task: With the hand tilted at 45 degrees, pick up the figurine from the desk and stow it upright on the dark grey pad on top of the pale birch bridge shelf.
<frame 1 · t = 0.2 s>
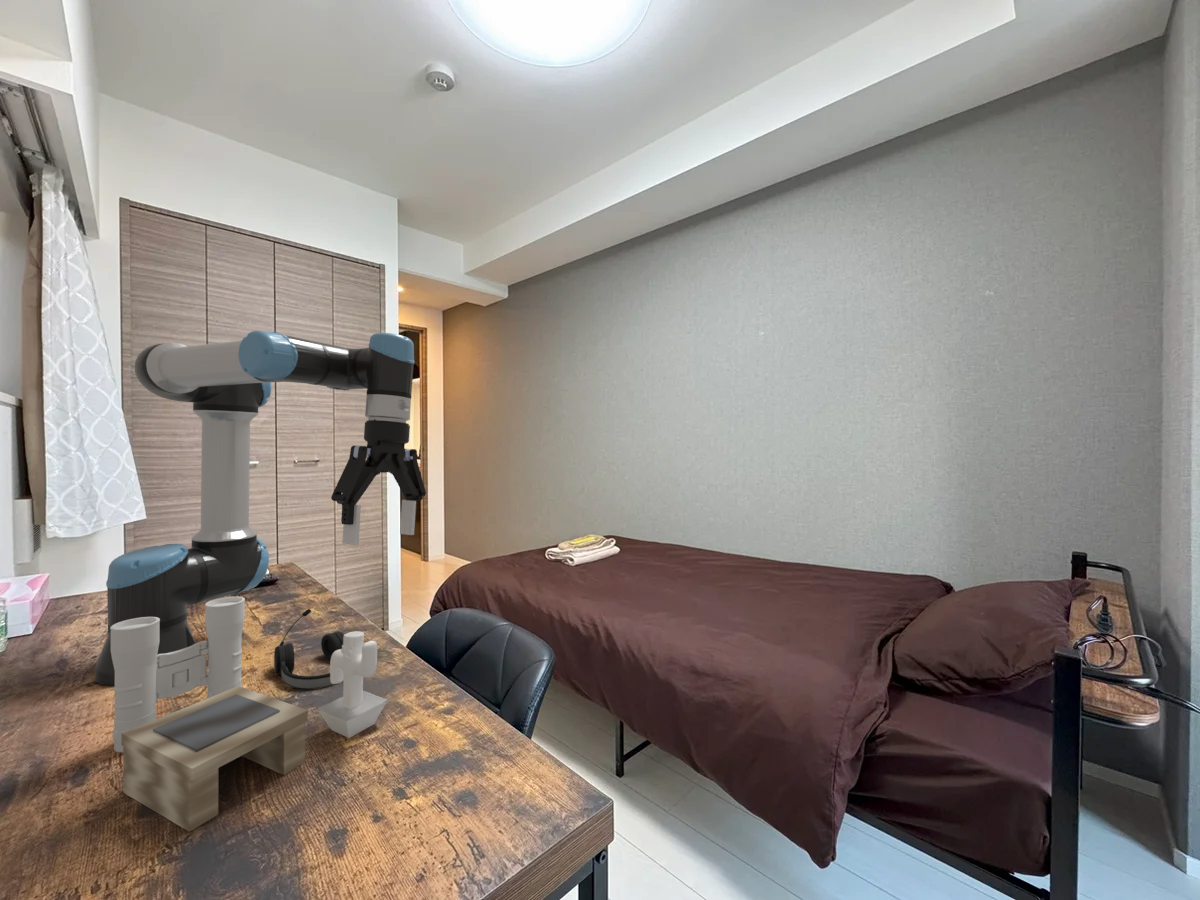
hand: (380, 539, 90), 28 cm above the table, tool pointing down, fingers open, 13 cm apart
figurine: (352, 728, 79), on the table
binoculars: (183, 724, 80), on the table
headset: (316, 671, 99), on the table
bridge shelf: (218, 776, 67), on the table
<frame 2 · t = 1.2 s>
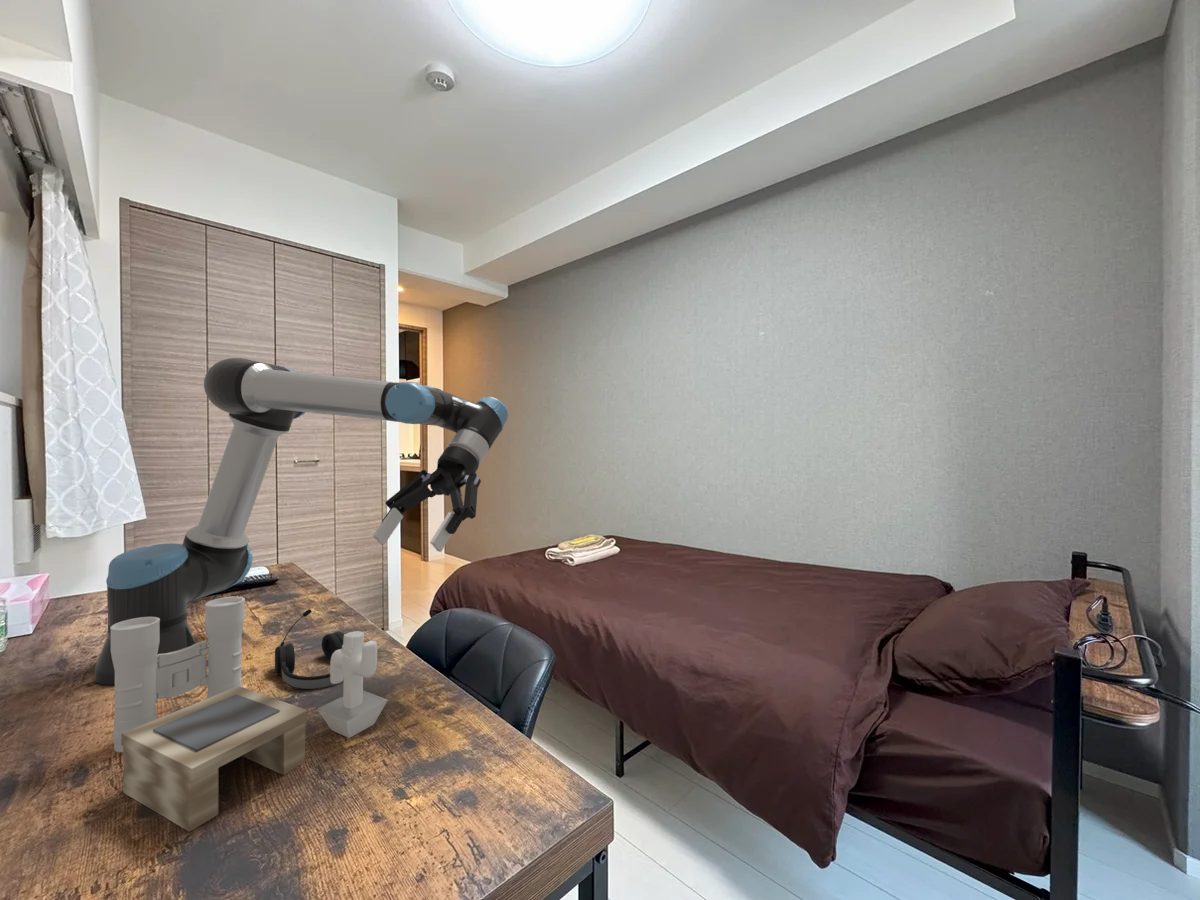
hand: (405, 543, 88), 27 cm above the table, tool tilted 45°, fingers open, 13 cm apart
nothing on the table moved.
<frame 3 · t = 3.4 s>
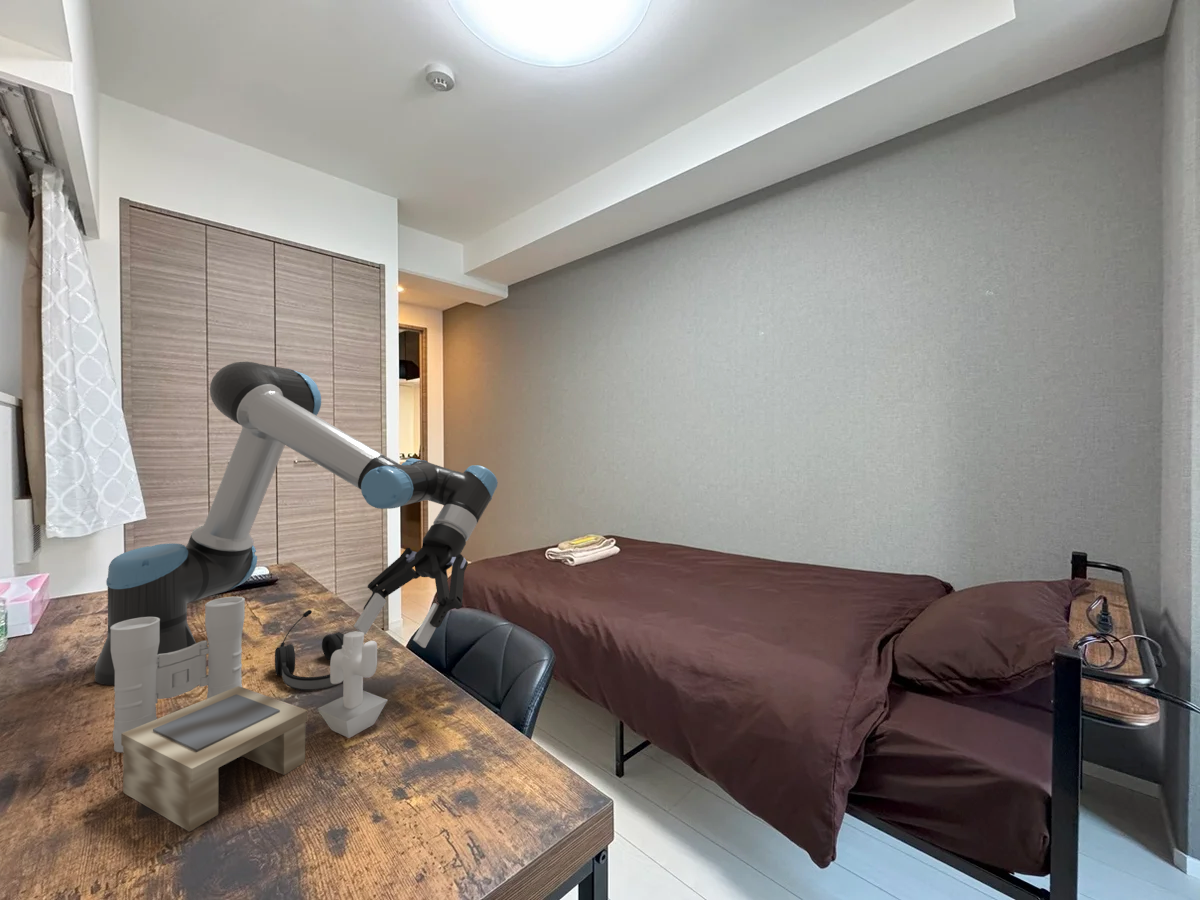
hand: (388, 637, 84), 12 cm above the table, tool tilted 45°, fingers open, 13 cm apart
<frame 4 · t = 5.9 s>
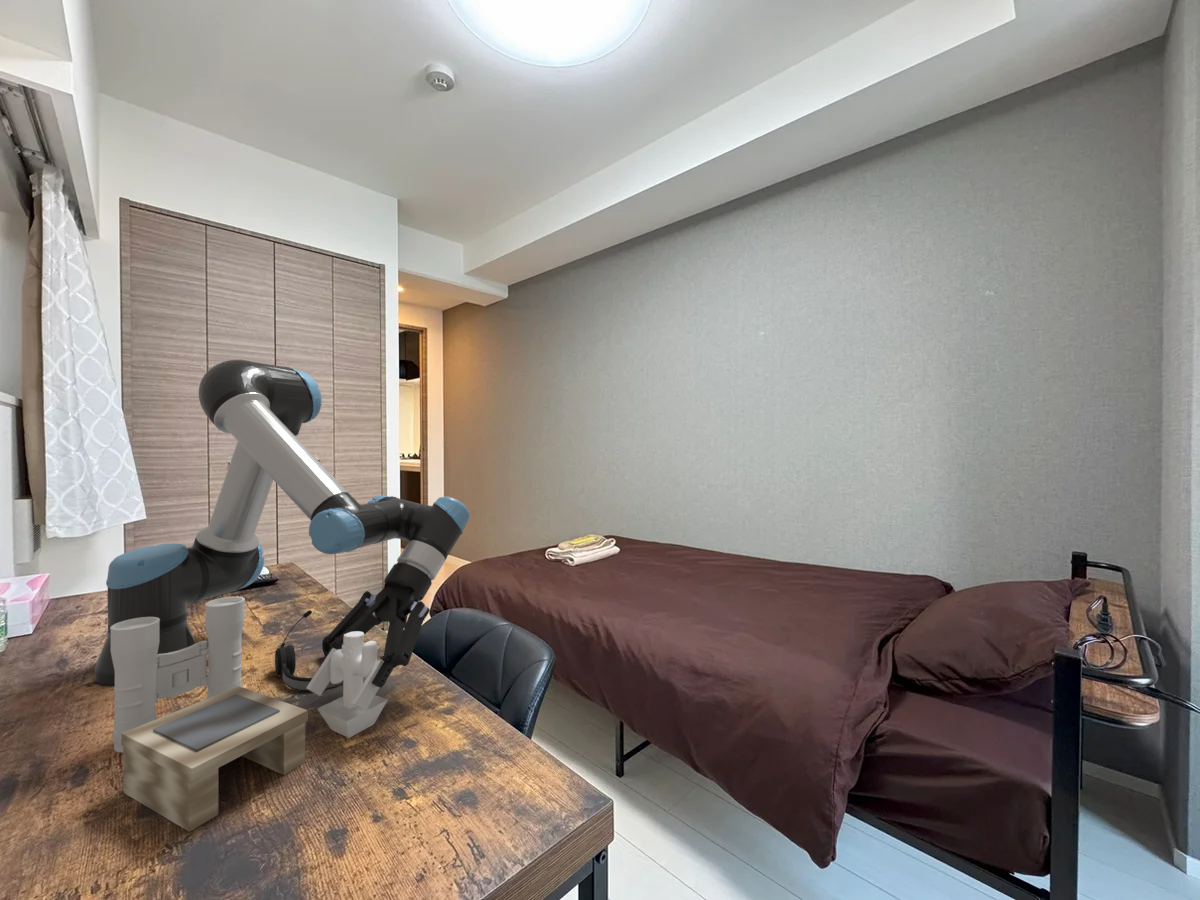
hand: (335, 699, 76), 6 cm above the table, tool tilted 45°, fingers closed on figurine, 9 cm apart
figurine: (352, 728, 79), on the table, touching gripper
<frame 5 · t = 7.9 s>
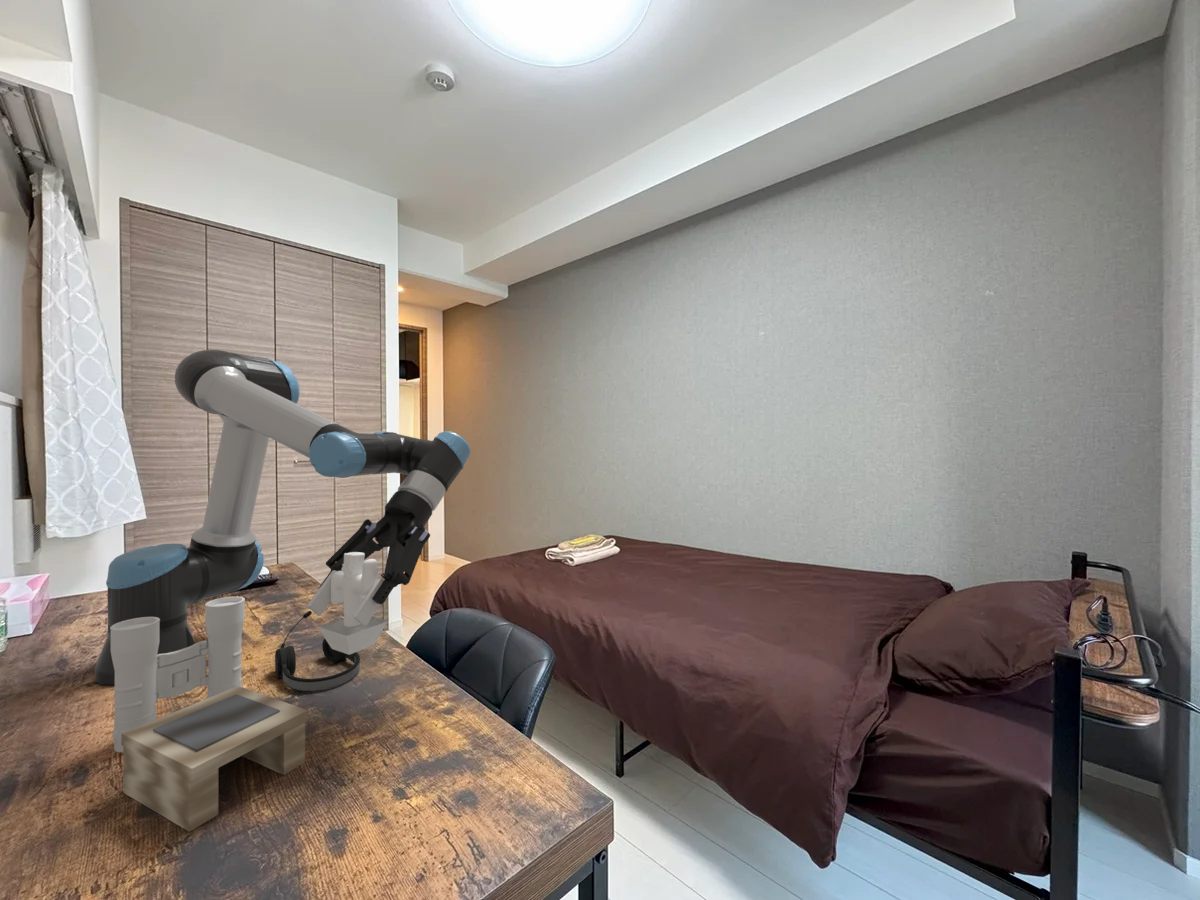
hand: (335, 616, 76), 19 cm above the table, tool tilted 45°, fingers closed on figurine, 9 cm apart
figurine: (353, 648, 79), point 13 cm above the table, touching gripper
when the fingers open (15 cm above the table, at t = 10.3 s): figurine drops 2 cm, resting on bridge shelf.
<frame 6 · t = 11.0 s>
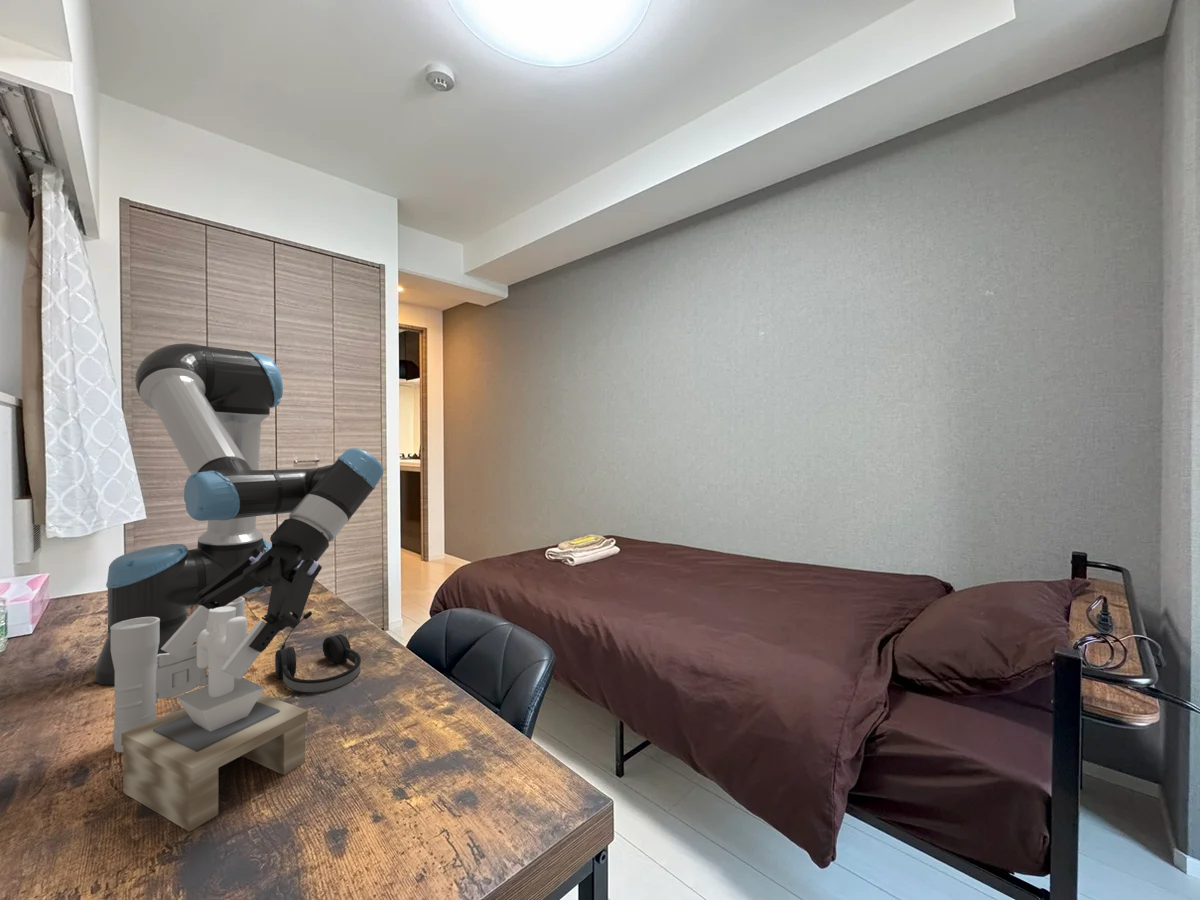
hand: (198, 664, 65), 16 cm above the table, tool tilted 45°, fingers open, 13 cm apart
figurine: (221, 720, 67), point 8 cm above the table, touching bridge shelf
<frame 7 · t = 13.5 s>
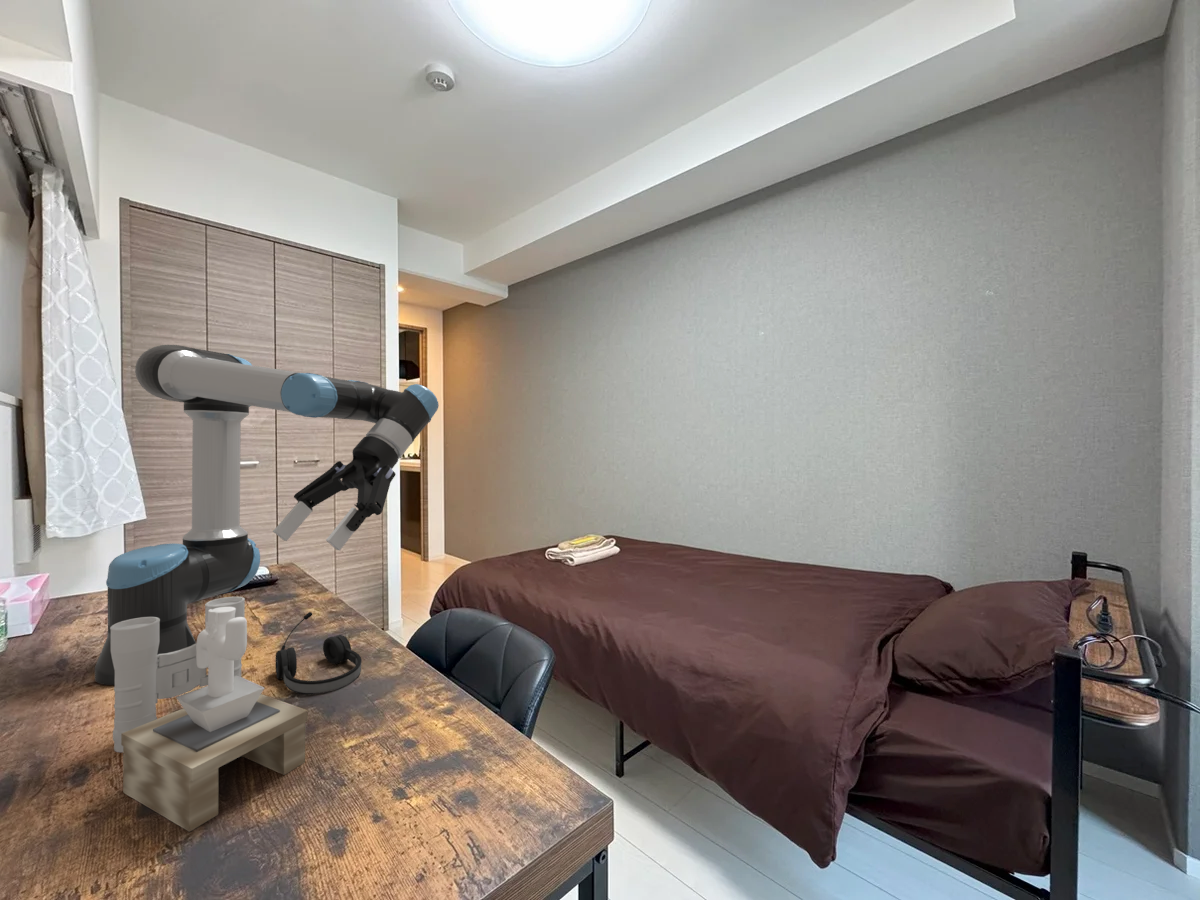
hand: (305, 540, 82), 29 cm above the table, tool tilted 45°, fingers open, 13 cm apart
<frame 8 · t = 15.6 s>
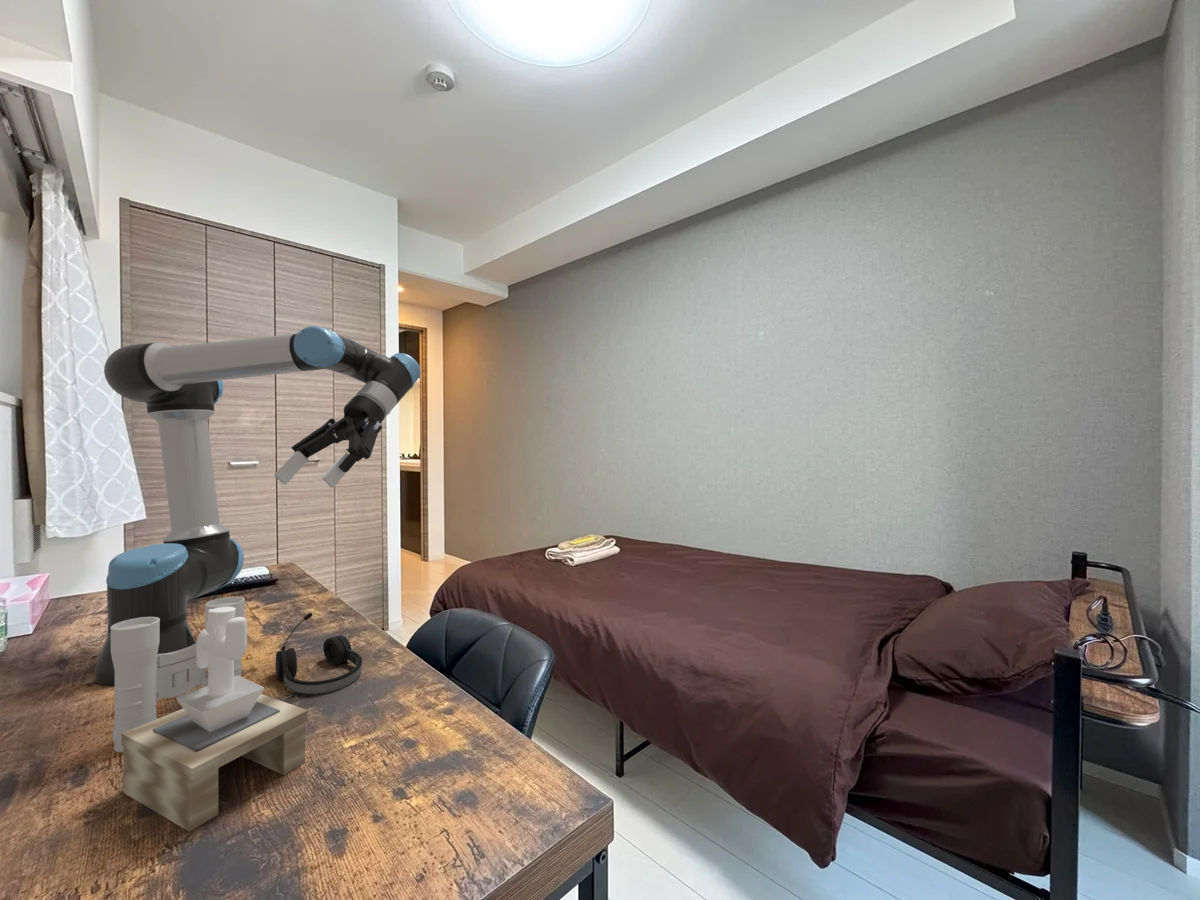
hand: (302, 481, 94), 38 cm above the table, tool tilted 45°, fingers open, 13 cm apart
at the end: figurine inside the target area on the bridge shelf (0.4 cm from its centre), point 7.6 cm above the bridge shelf's base; figurine tilted 0°; the gripper is holding nothing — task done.
